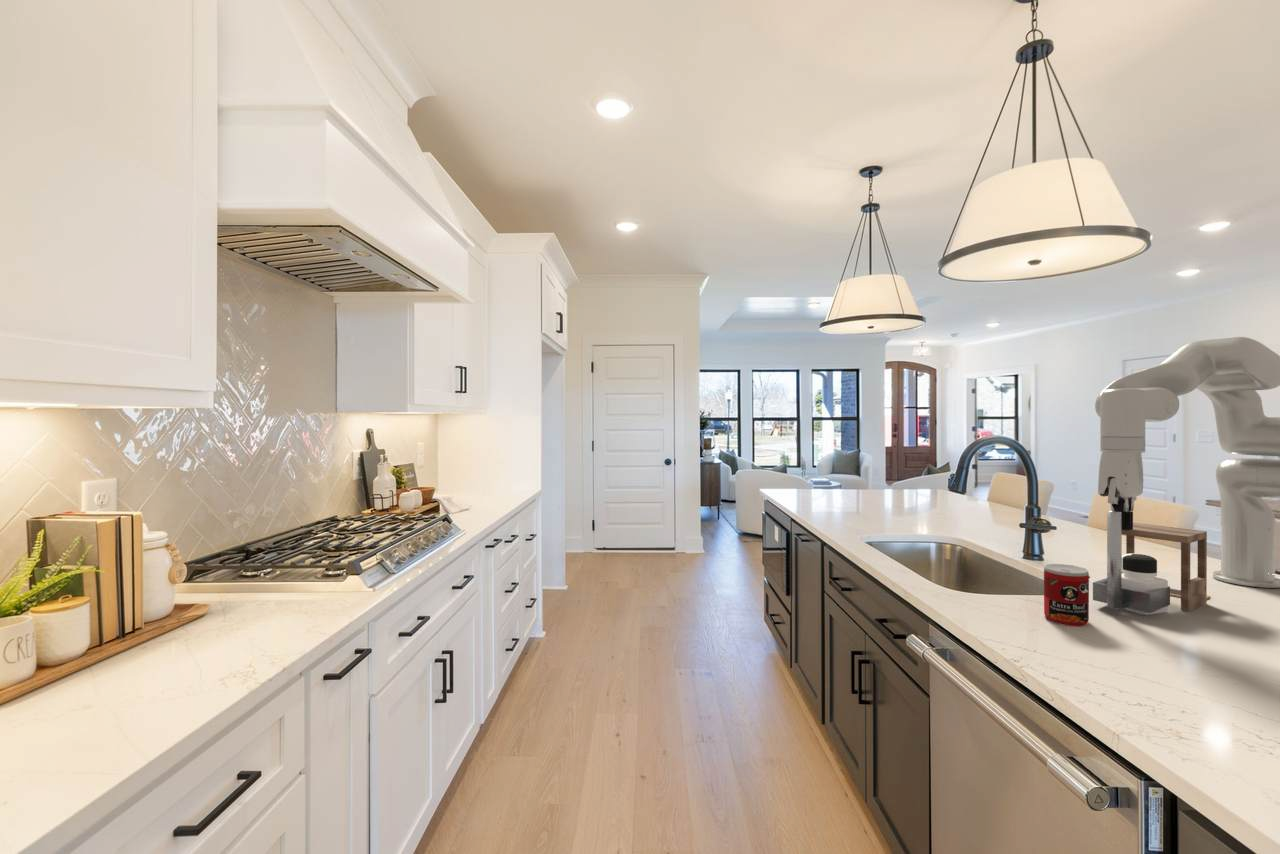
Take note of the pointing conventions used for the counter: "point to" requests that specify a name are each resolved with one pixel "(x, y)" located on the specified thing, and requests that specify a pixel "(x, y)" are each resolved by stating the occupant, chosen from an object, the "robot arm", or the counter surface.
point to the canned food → (1066, 594)
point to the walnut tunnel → (1190, 589)
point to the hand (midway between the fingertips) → (1122, 529)
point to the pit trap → (1178, 593)
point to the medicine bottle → (1141, 577)
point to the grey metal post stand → (1112, 585)
